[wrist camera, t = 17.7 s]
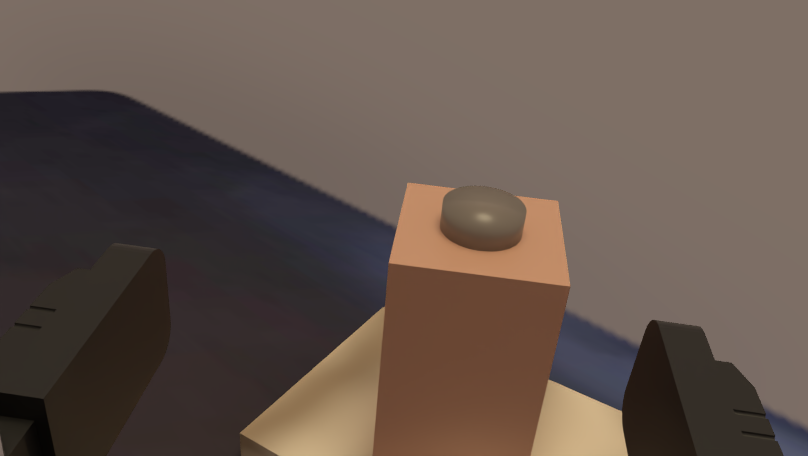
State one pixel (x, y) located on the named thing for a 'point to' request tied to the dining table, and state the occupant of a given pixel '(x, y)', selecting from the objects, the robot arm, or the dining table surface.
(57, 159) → the dining table surface
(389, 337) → the square capped bottle
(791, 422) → the dining table surface
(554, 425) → the shaft board
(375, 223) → the dining table surface
